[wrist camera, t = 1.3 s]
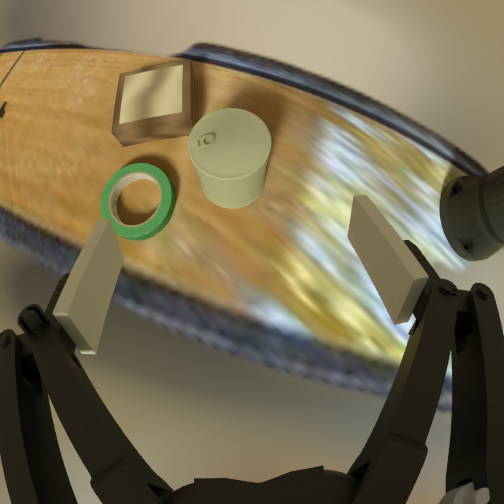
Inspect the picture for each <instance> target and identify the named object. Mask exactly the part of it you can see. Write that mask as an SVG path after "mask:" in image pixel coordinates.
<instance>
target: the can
mask: <svg viewBox="0 0 504 504" xmlns="http://www.w3.org/2000/svg"><path fill="white" fill-rule="evenodd" d="M271 144H272V142H271V135H270V132H269V129H268V128H267V126H266V124H265V123H264V122H263V121H262V120H261V119H260V118H259V117H258V116H256V115H255V114H253V113H251V112H249V111H246V110H243V109H239V108H224V109H219V110H216V111H213V112H211V113H209V114H207V115H205V116H204V117H202V118H201V119H200V120H199V121H198V122H197V123H196V124H195V126H194V127H193V129H192V131H191V133H190V135H189V139H188V152H189V156H190V158H191V160H192V162H193V164H194V166H195V168H196V170H197V173H198V176H199V178H200V181H201V186H202V189H203V192H204V193H205V195H206V196H207V198H208V199H209V200H210V201H211V202H213V203H214V204H216V205H218V206H220V207H223V208H229V209H236V208H241V207H244V206H247V205H249V204H250V203H252V202H253V201H255V200H256V199H257V198H258V196H259V195H260V194H261V192H262V190H263V188H264V184H265V171H266V166H267V161H268V157H269V154H270V151H271Z"/></svg>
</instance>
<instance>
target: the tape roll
mask: <svg viewBox="0 0 504 504" xmlns="http://www.w3.org/2000/svg"><path fill="white" fill-rule="evenodd" d="M137 179H149V180H152V181H154V182H155V183H157V185H158V187H159V191H160V201H159V205H158V207H157V209H156V211H155V213H154V214H153V215H152V216H151V217H150V218H149V219H148V220H147V221H145V222H143V223H141V224H138V225H126V224H124V223H123V222H122V221H121V220H120V218H119V216H118V214H117V200H118V197H119V195H120V193H121V191H122V190H123V188H124V187H125V186H126V185H128V184H129V183H130V182H132V181H134V180H137ZM174 207H175V192H174V188H173V186H172V184H171V182H170V180H169V179H168V177H167V176H166V174H165V173H164V172H163V171H162V170H161V169H159V168H158V167H156V166H154V165H151V164H147V163H135V164H131V165H128V166H126V167H124V168H122V169H120V170H119V171H118V172H116V173H115V174H114V175H113V176H112V178H111V179H110V180H109V181H108V183H107V184H106V186H105V188H104V191H103V194H102V198H101V213H102V217H103V219H111V222H112V225H113V228H114V231H115V233H116V234H118V235H119V236H122V237H124V238H126V239H129V240H145V239H148V238H151V237H153V236H155V235H156V234H158V233H159V232H160V231H161V230H162V229H163V228H164V227H165V226H166V225H167V224H168V222H169V221H170V219H171V217H172V214H173V211H174Z"/></svg>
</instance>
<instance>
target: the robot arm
mask: <svg viewBox="0 0 504 504" xmlns="http://www.w3.org/2000/svg"><path fill="white" fill-rule="evenodd" d="M440 217H441V223H442V227H443V230H444V233H445V236H446V238H447V240H448V242H449V244H450V245H451V247H452V248H453V250H454V251H455V252H456V253H457V254H458V255H459V256H460V257H462V258H464V259H466V260H468V261H479V260H484V259H487V258H489V257H490V256H492V255H493V254H494V253H496V252H497V251H498V250H500V249H501V248H502V247H503V246H504V166H503V167H501V168H499V169H497V170H495V171H493V172H491V173H489V174H487V175H485V176H462V177H459V178H457V179H455V180H453V181H451V182H450V183H449V184H448V185H447V186H446V187H445V189H444V191H443V194H442V197H441V202H440ZM347 237H348V239H349V241H350V243H351V244H352V246H353V248H354V250H355V251H356V253H357V255H358V257H359V258H360V260H361V262H362V264H363V266H364V267H365V269H366V271H367V273H368V275H369V277H370V278H371V280H372V282H373V284H374V286H375V288H376V290H377V292H378V294H379V295H380V297H381V299H382V301H383V303H384V305H385V307H386V309H387V311H388V313H389V315H390V317H391V319H392V321H393V323H394V325H395V324H400V323H404V322H408V321H409V319H410V317H411V315H412V313H413V314H414V316H415V318H416V320H415V322H414V324H413V326H412V328H411V330H410V332H409V333H408V334H409V335H410V337H409V340H408V343H407V346H406V349H405V352H404V355H403V358H402V361H401V364H400V367H399V369H398V372H397V375H396V377H395V380H394V382H393V385H392V387H391V390H390V392H389V395H388V397H387V399H386V402H385V404H384V407H383V409H382V411H381V413H380V415H379V418H378V420H377V422H376V425H375V426H374V428H373V430H372V433H371V435H370V437H369V438H368V440H367V443H366V444H365V447H364V448H363V450H362V452H361V453H360V455H359V456H358V457H357V459H356V460H355V462H354V463H353V465H352V466H351V468H350V470H349V471H348V473H347V474H345V473H342V472H338V471H333V470H324V468H323V466H318V467H313V468H308V469H302V470H296V471H292V472H289V473H286V474H284V475H281V476H279V477H276V478H273V479H270V480H268V481H265V482H261V483H254V482H247V481H241V480H234V479H228V478H206V479H205V478H194V483H192V484H188V485H186V486H183V487H181V488H179V489H177V490H175V491H174V490H173V489H172V488H171V487H170V486H169V485H168V484H167V483H166V482H165V481H164V480H163V479H162V478H160V477H159V476H158V475H157V474H156V473H155V472H154V471H153V470H152V469H151V468H150V466H149V465H148V464H147V463H146V462H145V460H144V459H143V458H142V456H141V455H140V454H139V453H138V452H137V450H136V449H135V447H134V446H133V445H132V444H131V442H130V441H129V439H128V438H127V437H126V436H125V434H124V433H123V431H122V430H121V428H120V427H119V425H118V424H117V423H116V421H115V420H114V418H113V417H112V415H111V414H110V412H109V411H108V409H107V408H106V406H105V404H104V403H103V402H102V400H101V398H100V397H99V395H98V393H97V391H96V390H95V388H94V387H93V385H92V383H91V382H90V380H89V378H88V376H87V374H86V373H85V371H84V369H83V367H82V365H81V363H80V362H79V360H78V358H77V356H76V355H75V354H74V351H75V348H76V347H77V348H78V349H79V351H80V352H81V353H82V354H96V351H97V347H98V343H99V339H100V335H101V331H102V328H103V324H104V321H105V317H106V314H107V310H108V307H109V304H110V300H111V297H112V294H113V291H114V288H115V285H116V281H117V278H118V275H119V272H120V269H121V267H122V264H123V261H124V256H123V254H122V251H121V248H120V245H119V243H118V240H117V237H116V234H115V231H114V228H113V225H112V222H111V219H104V220H98V222H97V224H96V225H95V227H94V229H93V231H92V232H91V234H90V236H89V238H88V240H87V242H86V243H85V245H84V247H83V249H82V251H81V253H80V255H79V257H78V259H77V261H76V263H75V265H74V267H73V269H72V271H71V273H66V274H65V275H64V276H63V277H62V278H61V279H60V281H59V282H58V285H57V287H56V290H55V291H54V293H53V297H51V300H50V302H49V304H48V306H47V309H46V311H45V313H44V312H43V310H42V309H41V307H40V306H39V305H37V304H32V305H29V306H27V307H26V308H25V309H23V310H22V312H21V313H20V314H19V317H18V325H19V326H20V327H21V329H22V330H23V331H24V334H21V335H18V336H17V335H16V334H15V332H14V331H13V330H11V329H7V330H4V331H3V332H1V333H0V454H1V461H2V466H3V471H4V476H5V480H6V484H7V488H8V492H9V496H10V500H11V503H12V504H78V503H77V500H76V498H75V495H74V492H73V490H72V487H71V484H70V481H69V478H68V475H67V472H66V469H65V466H64V462H63V459H62V456H61V452H60V448H59V445H58V441H57V437H56V432H55V428H54V424H53V419H52V414H51V409H50V404H49V398H48V395H49V397H50V399H51V402H52V404H53V406H54V408H55V411H56V413H57V415H58V417H59V419H60V421H61V423H62V425H63V427H64V429H65V431H66V433H67V435H68V437H69V439H70V441H71V442H72V444H73V446H74V448H75V450H76V451H77V453H78V455H79V457H80V458H81V460H82V462H83V464H84V465H85V467H86V468H87V470H88V472H89V473H90V475H91V478H92V479H91V481H90V484H91V487H92V489H93V490H94V492H95V493H96V495H97V496H98V498H99V499H100V501H101V502H102V503H103V504H406V502H407V500H408V497H409V496H410V493H411V491H412V489H413V487H414V485H415V483H416V480H417V478H418V476H419V474H420V471H421V469H422V466H423V464H424V461H425V459H426V456H427V452H428V448H427V446H426V445H425V443H426V439H427V436H428V433H429V430H430V427H431V424H432V421H433V418H434V415H435V412H436V408H437V405H438V401H439V398H440V394H441V391H442V387H443V383H444V379H445V375H446V370H447V366H448V361H449V356H450V351H451V357H452V419H451V435H450V445H449V455H448V463H447V472H446V494H445V495H444V496H443V498H442V499H441V501H440V502H439V503H438V504H504V334H503V330H502V325H501V321H500V317H499V312H498V309H497V305H496V301H495V297H494V294H493V292H492V291H491V289H490V288H489V287H487V286H486V285H485V284H482V283H475V284H473V286H472V288H471V290H470V291H466V290H458V289H457V287H456V286H455V285H454V284H453V283H452V282H450V281H449V280H446V279H440V277H439V276H438V275H437V273H436V272H435V270H434V269H433V267H432V266H431V265H430V263H429V262H428V261H427V260H426V258H425V257H424V255H423V254H422V253H421V251H420V250H419V249H418V247H417V246H416V245H414V244H413V243H412V242H410V241H409V240H402V239H401V238H400V236H399V235H398V234H397V232H396V231H395V230H394V229H393V227H392V226H391V225H390V223H389V222H388V221H387V220H386V218H385V217H384V216H383V215H382V214H381V212H380V211H379V210H378V209H377V207H376V206H375V205H374V204H373V203H372V201H371V200H370V199H369V198H368V197H367V196H366V195H359V196H354V198H353V205H352V211H351V218H350V224H349V230H348V236H347Z"/></svg>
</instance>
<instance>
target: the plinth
mask: <svg viewBox="0 0 504 504" xmlns="http://www.w3.org/2000/svg"><path fill="white" fill-rule="evenodd" d="M195 124H196V122H195V78H194V73H193V68H192V64H191V60H184V61H178V62H172V63H166V64H161V65H156V66H151V67H146V68H142V69H137V70H133V71H129V72H125V73H121V74H120V76H119V82H118V88H117V94H116V101H115V108H114V116H113V124H112V134H113V135H114V136H115V137H116V139H117V140H118V141H119V142H120V144H121V145H122V146H123V147H125V146H129V145H135V144H140V143H145V142H150V141H156V140H162V139H168V138H175V137H181V136H188V135H190V133H191V131H192V129H193V127H194V126H195Z"/></svg>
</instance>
